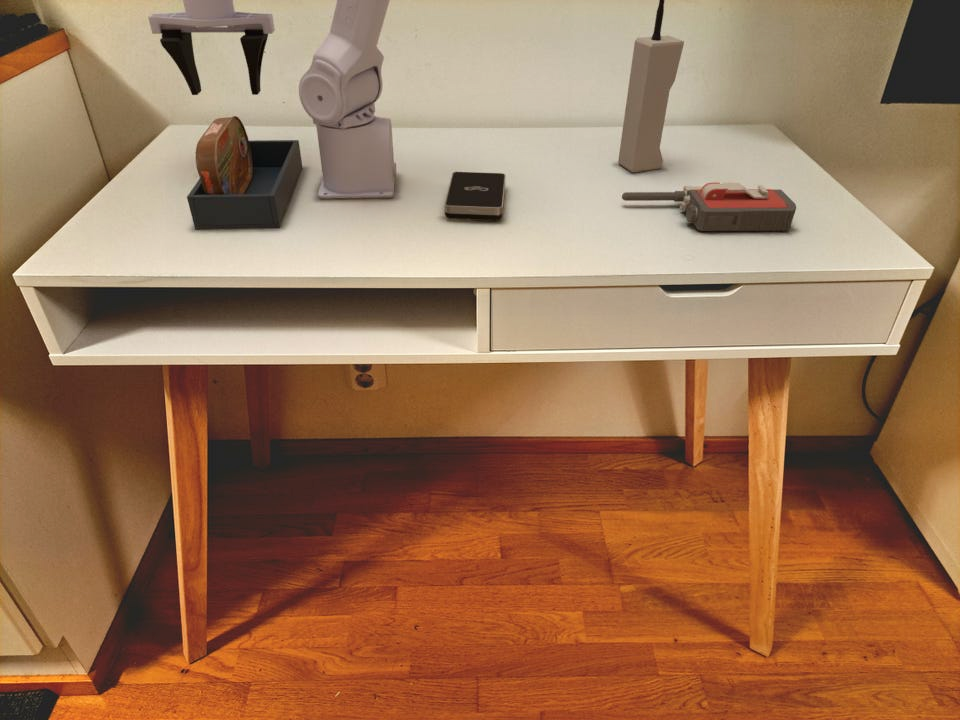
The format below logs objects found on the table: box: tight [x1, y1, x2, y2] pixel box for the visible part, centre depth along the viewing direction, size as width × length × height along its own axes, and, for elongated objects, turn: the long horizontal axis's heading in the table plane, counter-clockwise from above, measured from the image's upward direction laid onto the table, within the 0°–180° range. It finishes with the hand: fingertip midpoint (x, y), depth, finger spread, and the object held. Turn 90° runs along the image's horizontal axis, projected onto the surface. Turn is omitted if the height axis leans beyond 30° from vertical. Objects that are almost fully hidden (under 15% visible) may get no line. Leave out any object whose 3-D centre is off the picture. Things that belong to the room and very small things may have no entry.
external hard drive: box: [444, 171, 506, 221], centre depth 85 cm, size 7×11×2 cm, turn 176°
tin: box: [195, 115, 253, 195], centre depth 84 cm, size 15×3×8 cm, turn 4°
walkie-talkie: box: [621, 182, 797, 232], centre depth 82 cm, size 9×4×20 cm
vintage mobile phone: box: [617, 0, 685, 174], centre depth 89 cm, size 4×5×25 cm
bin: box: [186, 139, 304, 230], centre depth 85 cm, size 10×19×4 cm, turn 4°
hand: (226, 92), depth 89 cm, fingers open, 7 cm apart
